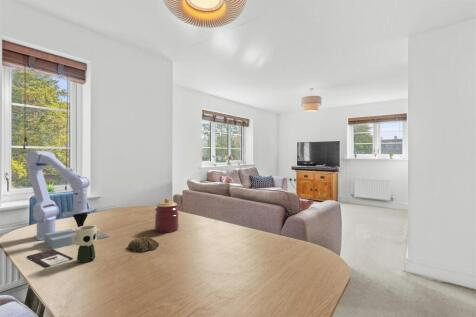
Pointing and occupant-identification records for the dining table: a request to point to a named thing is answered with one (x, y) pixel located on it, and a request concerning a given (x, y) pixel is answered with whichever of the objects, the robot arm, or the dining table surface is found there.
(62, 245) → the plate
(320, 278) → the dining table surface
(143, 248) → the mossy rock
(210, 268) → the dining table surface
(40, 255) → the chocolate bar
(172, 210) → the canister
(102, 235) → the mat
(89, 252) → the character mug
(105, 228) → the dining table surface
